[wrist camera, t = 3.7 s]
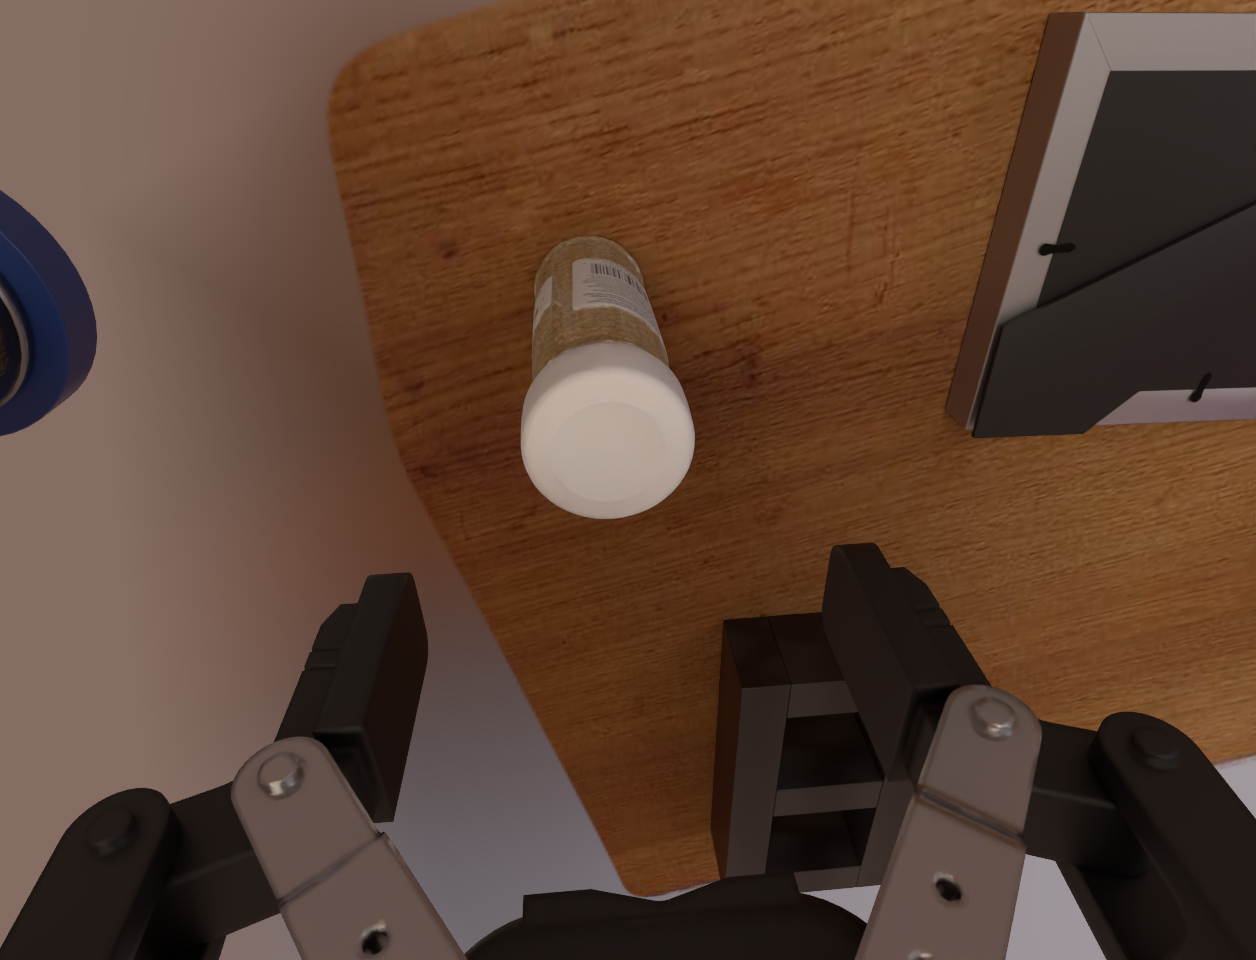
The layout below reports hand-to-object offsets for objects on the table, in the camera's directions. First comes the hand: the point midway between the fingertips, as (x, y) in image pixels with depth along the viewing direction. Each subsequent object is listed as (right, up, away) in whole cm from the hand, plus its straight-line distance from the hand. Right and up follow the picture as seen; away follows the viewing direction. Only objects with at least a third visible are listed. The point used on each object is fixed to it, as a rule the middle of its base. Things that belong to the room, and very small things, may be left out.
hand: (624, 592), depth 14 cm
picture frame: (+25, +13, +17) cm, 33 cm away
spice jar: (-1, +10, +16) cm, 19 cm away
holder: (+11, -14, +32) cm, 37 cm away
